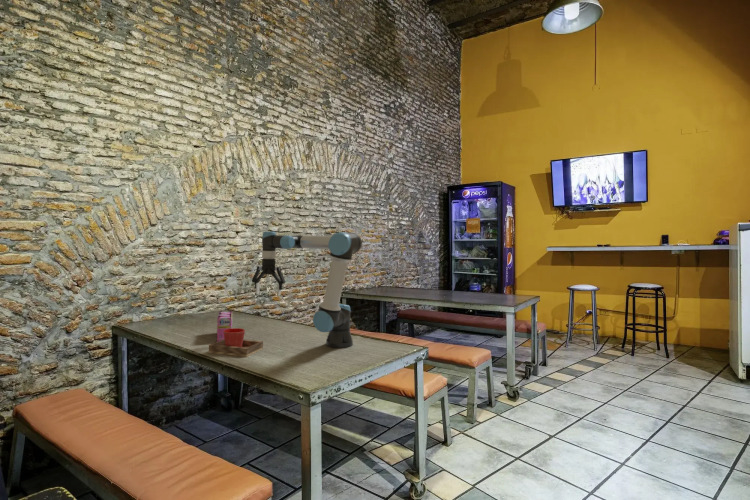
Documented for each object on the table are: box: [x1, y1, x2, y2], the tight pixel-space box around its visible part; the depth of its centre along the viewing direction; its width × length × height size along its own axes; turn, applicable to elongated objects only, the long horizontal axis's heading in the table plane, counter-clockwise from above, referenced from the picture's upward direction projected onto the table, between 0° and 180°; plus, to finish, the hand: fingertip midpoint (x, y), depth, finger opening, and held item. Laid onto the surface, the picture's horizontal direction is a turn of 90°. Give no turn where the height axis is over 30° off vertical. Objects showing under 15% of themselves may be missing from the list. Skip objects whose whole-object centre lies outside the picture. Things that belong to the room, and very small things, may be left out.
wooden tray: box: [208, 339, 264, 358], centre depth 221 cm, size 22×16×4 cm
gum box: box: [216, 310, 233, 342], centre depth 251 cm, size 24×8×14 cm, turn 17°
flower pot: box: [223, 327, 246, 347], centre depth 222 cm, size 11×11×10 cm
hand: (268, 294), depth 242 cm, fingers open, 13 cm apart
